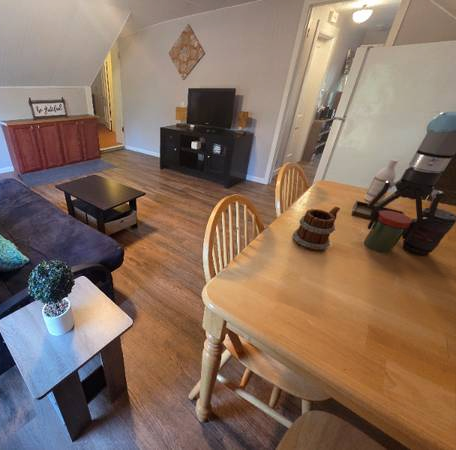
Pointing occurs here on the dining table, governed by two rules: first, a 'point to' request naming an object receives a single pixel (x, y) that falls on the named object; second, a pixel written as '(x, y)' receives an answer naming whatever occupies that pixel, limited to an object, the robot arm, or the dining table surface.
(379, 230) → the jar
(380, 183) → the bath foam
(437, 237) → the camera lens
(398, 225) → the lid
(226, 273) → the dining table surface
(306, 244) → the mug
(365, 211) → the tray
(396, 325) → the dining table surface
